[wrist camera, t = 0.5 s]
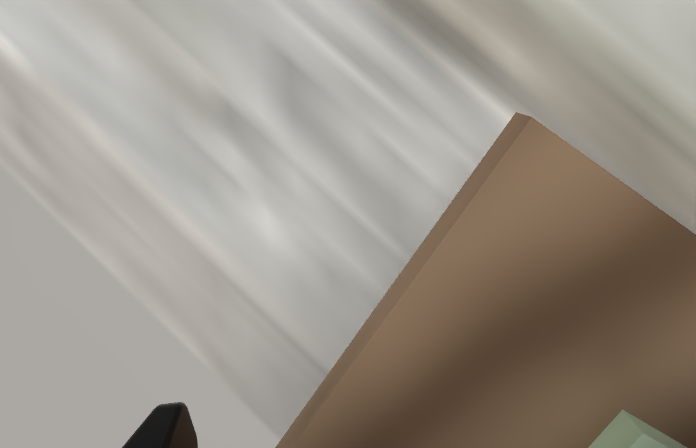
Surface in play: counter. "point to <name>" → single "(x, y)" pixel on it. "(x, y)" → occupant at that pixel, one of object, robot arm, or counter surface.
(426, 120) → the counter surface
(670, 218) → the instrument deck
